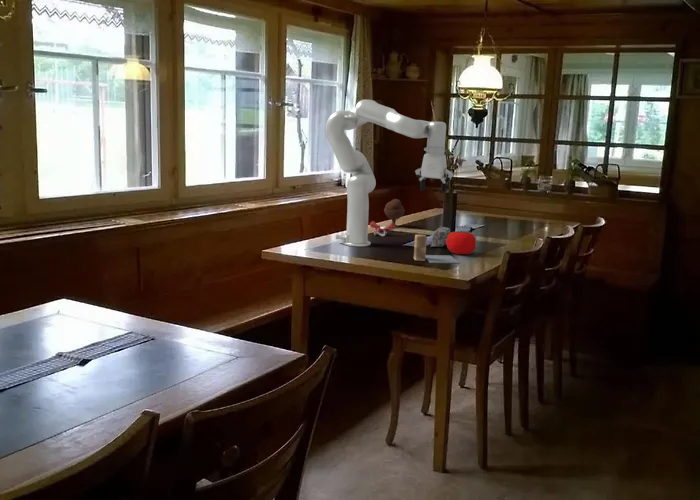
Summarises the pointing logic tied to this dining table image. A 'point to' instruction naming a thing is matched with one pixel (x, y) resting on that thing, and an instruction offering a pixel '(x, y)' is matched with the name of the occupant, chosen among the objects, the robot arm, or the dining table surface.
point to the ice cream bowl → (394, 210)
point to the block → (420, 247)
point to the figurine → (381, 228)
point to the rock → (440, 237)
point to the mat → (441, 259)
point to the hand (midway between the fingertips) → (432, 191)
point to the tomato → (461, 242)
